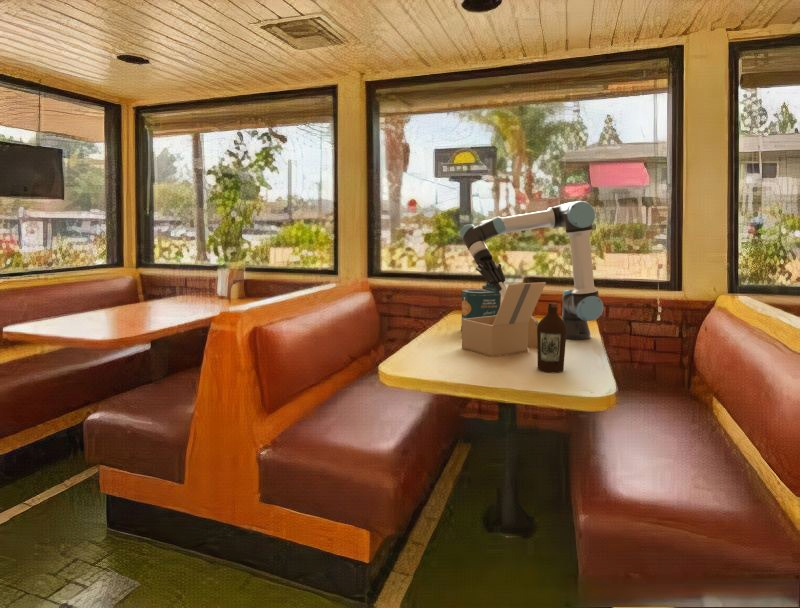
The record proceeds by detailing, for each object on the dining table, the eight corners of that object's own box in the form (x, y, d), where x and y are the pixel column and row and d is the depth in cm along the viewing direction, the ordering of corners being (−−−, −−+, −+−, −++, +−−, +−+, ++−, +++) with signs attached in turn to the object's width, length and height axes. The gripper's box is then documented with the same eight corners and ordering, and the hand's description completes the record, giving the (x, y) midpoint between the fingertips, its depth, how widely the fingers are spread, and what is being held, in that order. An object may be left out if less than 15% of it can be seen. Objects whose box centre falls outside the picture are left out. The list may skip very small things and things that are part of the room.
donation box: (499, 333, 279) (500, 278, 275) (469, 335, 274) (470, 278, 271) (485, 328, 294) (487, 275, 290) (457, 329, 290) (458, 276, 286)
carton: (461, 348, 244) (462, 319, 242) (496, 343, 254) (497, 315, 253) (491, 357, 227) (492, 325, 225) (527, 351, 237) (528, 321, 236)
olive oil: (537, 365, 213) (540, 300, 210) (566, 367, 209) (569, 302, 206) (533, 371, 203) (536, 304, 200) (563, 374, 200) (566, 305, 196)
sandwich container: (562, 349, 243) (563, 315, 241) (526, 347, 246) (527, 314, 244) (561, 345, 251) (562, 312, 249) (526, 343, 255) (527, 311, 253)
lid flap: (508, 284, 215) (509, 285, 215) (545, 281, 225) (546, 282, 225) (492, 325, 225) (493, 325, 225) (528, 320, 235) (528, 321, 235)
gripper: (488, 259, 249) (513, 300, 237) (465, 260, 242) (489, 302, 230) (496, 248, 243) (522, 289, 232) (473, 248, 237) (498, 291, 225)
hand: (506, 296), depth 231 cm, fingers closed
